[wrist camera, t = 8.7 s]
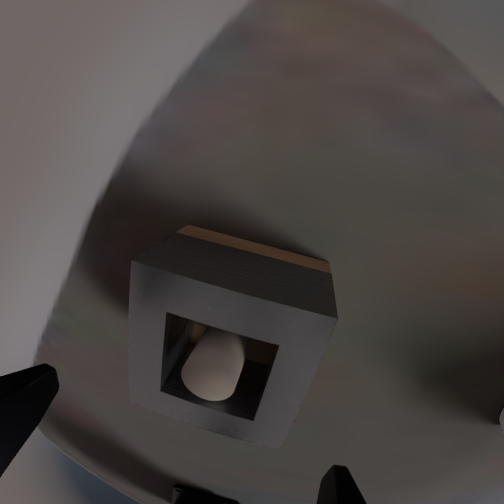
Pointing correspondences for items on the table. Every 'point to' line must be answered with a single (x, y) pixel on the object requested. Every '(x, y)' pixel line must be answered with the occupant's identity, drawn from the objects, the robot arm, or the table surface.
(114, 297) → the table surface
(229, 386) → the tan knobbed plate
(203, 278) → the hollow square frame
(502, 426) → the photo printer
